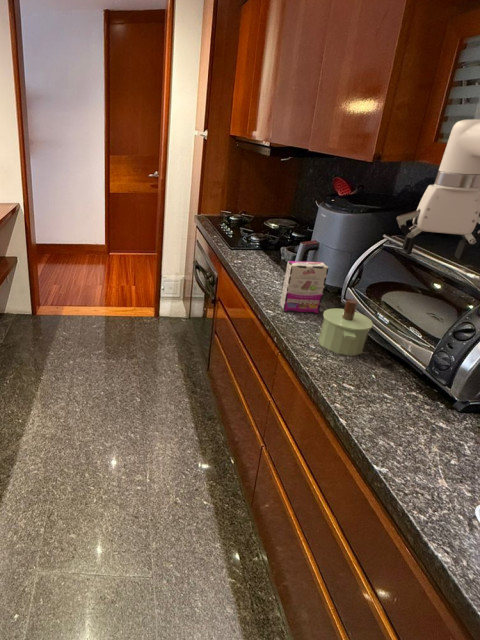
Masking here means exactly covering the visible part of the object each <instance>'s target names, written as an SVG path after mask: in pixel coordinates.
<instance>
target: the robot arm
mask: <svg viewBox="0 0 480 640" xmlns="http://www.w3.org/2000/svg"><path fill="white" fill-rule="evenodd" d="M409 220H412V226H410V227H408V225H407V221H409ZM396 221H397V224H398V228H399V229H400V230H401V232H402V233H403V234H404V235H405V236H404V240H403V243H402V246H401V249H402V250H403V252H404V253H405V254H406V255H407V256H410V255H412V253H413V249H414V246H415V242H416V236H417V235H419V234H420V233H422V232H428V233H429V232H430V233H437V234H438V233H439V234H450V235H461V237H462V238H463V239H460V240H459V242H458V243H457V244H458V245H457V247H456V250H455V253H454V257H455V258H456V259H457V260H458V261H461V262H462V261H464V260H465V257H468V255H469V253H470V250H471V249H472V245H474V244H477V242H478V241H480V229H479V230H477V231H475V232H474V230H475V228H476V226H477V224H478V225H480V119H478V118H476V119H475V118H474V119H473V118H471V119H461V120H458V121H457V122H455V124H453V126H452V129H451V131H450V134H449V138H448V139H447V144H446V147H445V150H444V152H443V155H442V159H441V162H440V164H439V168H438V171H437V174H436V176H435V180H434V184H429V185H427V188H426V189H425V191H424V193H423V195H422V197H421V198H420V201H419V203H418V206H417V208H416V210H414V211H411V212H410V211H409V212H407V213H403V214H401V215H398V216H397V217H396Z"/></svg>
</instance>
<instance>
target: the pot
mask: <svg viewBox="0 0 480 640" xmlns="http://www.w3.org/2000/svg"><path fill="white" fill-rule="evenodd" d="M320 329H321V330H320V332H319V336H318V344H319V346H320V347H323V348H325V349H326V350H328V351H330V352H333V353H335V354H339V355H344V356H358V355H363V352H364V349H365V346H366V342H367V339H368V336H369V333H370V330H371V329H369V330H365V331H356V330H349V329H345V328H341V327H338V326H336V325H333V324H331V323H330V322H328V321H327V320H326V319H325V318H324V317H323V320H322V324H321V328H320Z"/></svg>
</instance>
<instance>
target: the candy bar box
mask: <svg viewBox="0 0 480 640" xmlns="http://www.w3.org/2000/svg"><path fill="white" fill-rule="evenodd" d="M328 273H329V265H327V264H326V263H325V262H323V261H301V260H300V261H299V260H298V261H297V260H288V261H287V263H286V269H285V275H284V280H283V286H282V292H281V296H280V302H279V303H280V304H279V305H280V308H281V309H282V311H283V312H292V313H309V314H310V313H311V314H319V312H320V309H321V305H322V300H323V295H324V291H325V286H326V282H327V278H328Z"/></svg>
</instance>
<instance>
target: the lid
mask: <svg viewBox="0 0 480 640" xmlns="http://www.w3.org/2000/svg"><path fill="white" fill-rule="evenodd" d="M358 303H359V302H358V301H357V300H355V299H352V298H349V299H348V298H347V299H346V301H345V305H344V308H337V307H336V308H335V307H334V308H327V309H326V310H324V311H323V313H322V317H323V319H324V318H325V319H326V320H327V321H328V322H330V323H331V324H333V325H336V326H338V327H341V328H345V329H349V330H356V331H365V330H369V329H370V330H371V329H372V328H373V326H374V322H373V321H372V320H371V318H369V317H368V316H366V315H365V314H362V313H360V312H357V307H358ZM370 330H369V331H370Z"/></svg>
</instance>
